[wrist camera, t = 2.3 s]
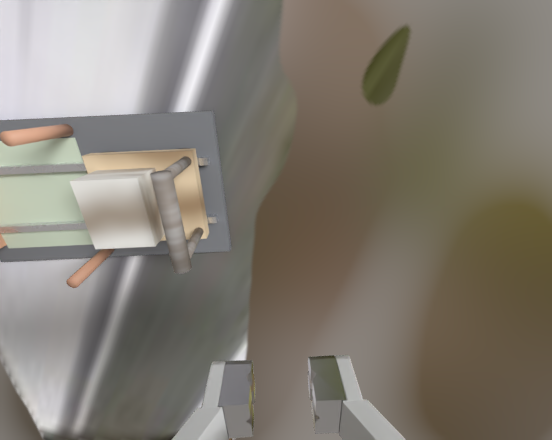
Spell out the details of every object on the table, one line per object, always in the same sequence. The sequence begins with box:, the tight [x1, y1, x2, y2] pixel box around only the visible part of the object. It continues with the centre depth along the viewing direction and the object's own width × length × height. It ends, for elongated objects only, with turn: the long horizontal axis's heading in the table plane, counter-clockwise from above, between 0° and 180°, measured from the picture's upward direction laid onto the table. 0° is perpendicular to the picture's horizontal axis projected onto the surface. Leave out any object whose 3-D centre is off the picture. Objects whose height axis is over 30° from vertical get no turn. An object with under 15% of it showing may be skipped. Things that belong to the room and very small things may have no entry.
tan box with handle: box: [70, 148, 209, 274], centre depth 26 cm, size 10×11×10 cm
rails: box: [0, 156, 218, 233], centre depth 31 cm, size 8×28×1 cm, turn 92°
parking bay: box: [0, 124, 114, 288], centre depth 28 cm, size 16×15×7 cm
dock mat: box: [0, 111, 231, 262], centre depth 31 cm, size 17×30×1 cm, turn 92°
